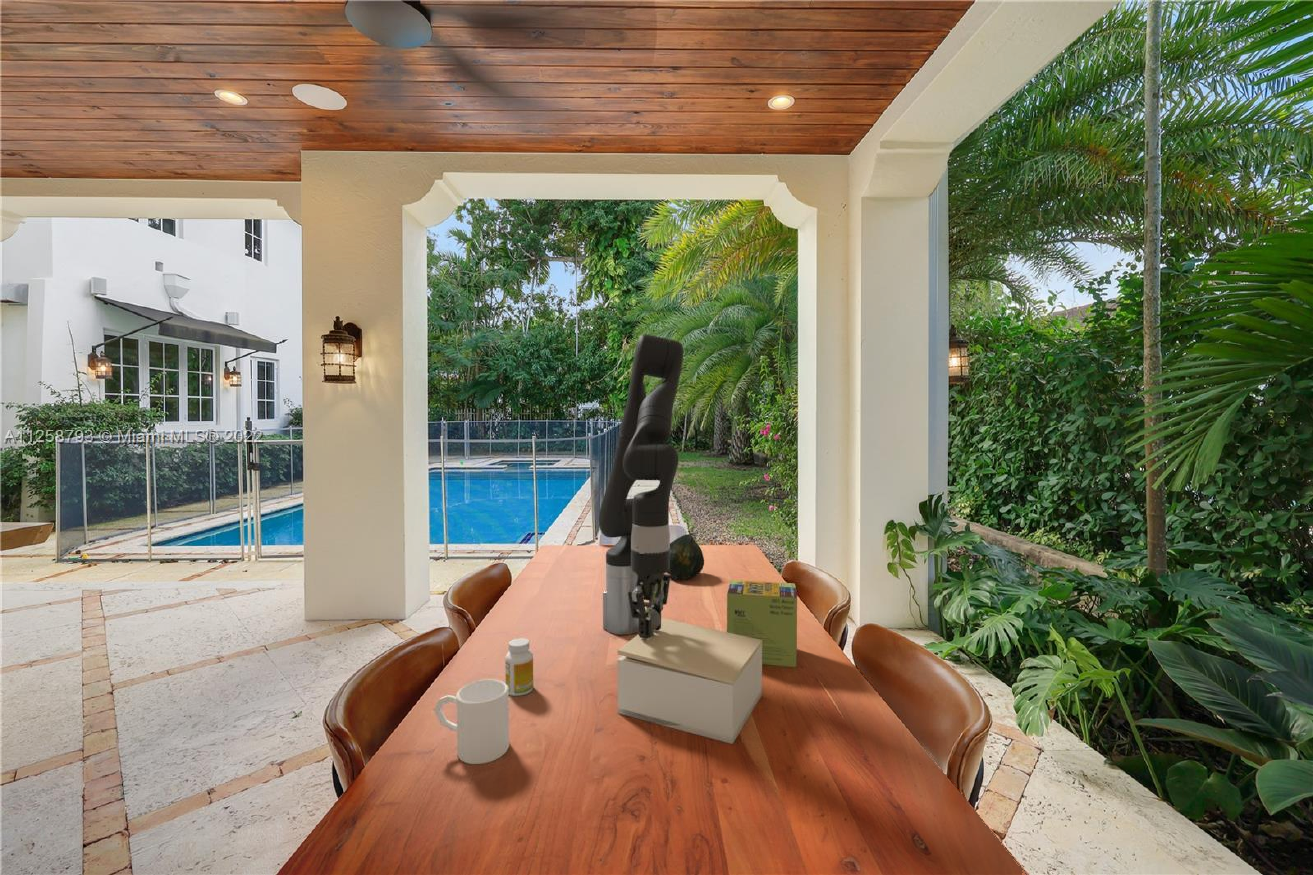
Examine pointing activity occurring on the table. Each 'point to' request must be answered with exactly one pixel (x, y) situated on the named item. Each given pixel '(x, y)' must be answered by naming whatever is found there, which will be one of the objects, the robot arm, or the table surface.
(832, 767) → the table surface
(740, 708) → the carton
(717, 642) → the lid
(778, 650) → the protein box
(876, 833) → the table surface
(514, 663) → the supplement bottle
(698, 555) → the squash
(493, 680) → the mug
